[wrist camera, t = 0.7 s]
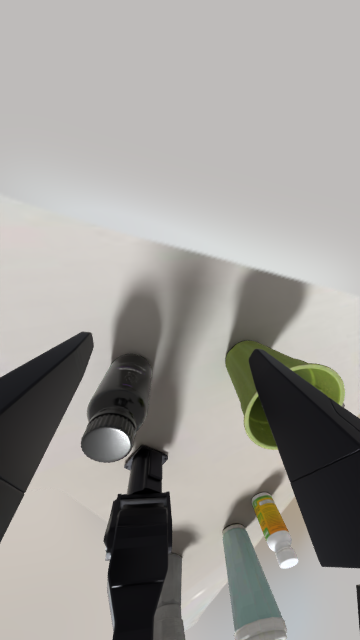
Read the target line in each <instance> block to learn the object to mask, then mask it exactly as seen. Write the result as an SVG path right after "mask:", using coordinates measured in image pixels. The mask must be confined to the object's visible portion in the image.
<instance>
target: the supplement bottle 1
mask: <svg viewBox="0 0 360 640" xmlns="http://www.w3.org/2000/svg"><path fill="white" fill-rule="evenodd" d="M151 380H152V368H151V366H150V364H149V362H148V361H147V360H146V359H145V358H143V357H142V356H139V355H136V354H126V355H122V356H120V357H118V358H117V359H116V360H115V361H114V362H113V363H112V364H111V366H110V368H109V369H108V371H107V373H106V375H105V376H104V378H103V380H102V381H101V383H100V385H99V387H98V388H97V390H96V392H95V394H94V395H93V397H92V399H91V401H90V403H89V405H88V408H87V418H88V421H89V423H88V425H87V429H86V431H85V433H84V435H83V437H82V441H81V448H82V451H83V452H84V454H85V455H86V456H87V457H89V458H90V459H93V460H95V461H98V462H104V463H106V462H108V463H110V462H115V461H119V460H120V459H123V458H124V457H126V456H127V455H128V454H129V452H130V451H131V449H132V447H133V443H134V437H135V435H136V431H137V430H138V429H139V428H140V427H141V426H142V425H143V423H144V422H145V420H146V417H147V412H148V405H149V397H150V388H151Z"/></svg>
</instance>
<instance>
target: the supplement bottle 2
mask: <svg viewBox="0 0 360 640" xmlns="http://www.w3.org/2000/svg"><path fill="white" fill-rule="evenodd" d="M252 505H253V508H254V511H255V513H256V516H257V518H258V521H259V524H260V526H261V529H262V531H263V534H264V536H265V539H266V542H267V544H268V546H269V548H270V549H271V550H273V551H275V553H276V558H277V560H278V563H279V565H280V567H281V568H290V567H292V566H294V565H296V564H297V563H298V558H297V555H296V553H295V551H294V550H293V548H292V547H291V546H290V545H291V541H292V539H291V536H290V534H289V531H288V529H287V528H286V525H285V523H284V521H283V519H282V517H281V515H280V513H279V511H278V509H277V507H276V505H275V503H274V501H273V499H272V497H271V495H270V494H269V493H266V492H263V493H259V494H257V495H255V496H254V497H253V499H252Z"/></svg>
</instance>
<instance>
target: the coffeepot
mask: <svg viewBox="0 0 360 640" xmlns="http://www.w3.org/2000/svg"><path fill="white" fill-rule="evenodd" d="M181 574H182V558H181V556H179V555H178V554H174V553H171V554H168V571H167V574H166V578H165V581H164V584H163V588H162V591H161V595H160V598H159V602H158V605H157V608H156V612H155V615H154V633H153V640H185V634H184V626H183V620H182V619H181V607H180V606H181Z"/></svg>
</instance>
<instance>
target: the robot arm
mask: <svg viewBox="0 0 360 640" xmlns="http://www.w3.org/2000/svg"><path fill="white" fill-rule="evenodd" d="M93 347H94V344H93V337H92V334H91V333H90V332H81V333H79V334H77V335H75V336H73V337H72V338H70V339H68V340H66V341H65V342H63V343H61V344H59V345H57V346H56V347H54V348H52V349H50V350H48V351H47V352H45V353H43V354H41V355H40V356H38V357H36V358H34V359H32V360H31V361H29V362H27V363H25V364H24V365H22V366H20V367H18V368H16V369H15V370H13V371H11V372H9V373H7V374H6V375H4V376H2V377H0V542H1V540H2V538H3V536H4V534H5V532H6V530H7V528H8V526H9V524H10V522H11V520H12V518H13V516H14V514H15V512H16V510H17V508H18V506H19V504H20V502H21V500H22V498H23V496H24V493H25V492H26V490H27V488H28V486H29V484H30V482H31V480H32V478H33V476H34V474H35V472H36V470H37V468H38V466H39V464H40V462H41V460H42V458H43V456H44V454H45V452H46V450H47V448H48V446H49V444H50V442H51V440H52V438H53V436H54V434H55V432H56V430H57V428H58V426H59V424H60V422H61V420H62V418H63V416H64V414H65V412H66V410H67V408H68V406H69V404H70V402H71V400H72V398H73V396H74V394H75V392H76V390H77V388H78V386H79V384H80V382H81V380H82V377H83V375H84V373H85V370H86V367H87V364H88V362H89V359H90V356H91V353H92V351H93ZM249 365H250V369H251V373H252V377H253V381H254V384H255V388H256V391H257V393H258V396H259V399H260V401H261V404H262V407H263V410H264V412H265V415H266V418H267V421H268V423H269V426H270V429H271V431H272V434H273V437H274V440H275V442H276V445H277V448H278V450H279V453H280V456H281V459H282V461H283V464H284V467H285V470H286V472H287V475H288V478H289V480H290V482H291V486H292V489H293V492H294V494H295V497H296V500H297V502H298V505H299V508H300V511H301V513H302V516H303V519H304V522H305V524H306V527H307V530H308V533H309V535H310V538H311V541H312V543H313V546H314V549H315V552H316V554H317V557H318V559H319V562H320V564H321V566H322V567H342V568H360V419H359V418H358V417H356V416H355V415H353V414H352V413H351V412H349V411H348V410H346V409H345V408H343V407H342V406H341V405H339V404H338V403H336V402H335V401H334V400H332V399H331V398H329V397H328V396H327V395H325V394H324V393H322V392H321V391H320V390H318V389H317V388H316V387H314V386H313V385H311V384H310V383H309V382H307V381H306V380H304V379H303V378H302V377H300V376H299V375H298V374H296V373H295V372H293V371H292V370H291V369H289V368H288V367H286V366H285V365H284V364H282V363H281V362H280V361H278V360H277V359H275V358H274V357H273V356H271V355H270V354H268V353H267V352H266V351H264V350H263V349H254V350H253V352H252V354H251V355H250V357H249ZM167 459H168V456H167V455H165V454H163V453H161V452H158V451H156V450H153V449H151V448H149V447H146V446H144V445H142V446H141V447H140V448H139V449H138V450H137V451H136V452H135V453H134V454H133V456H132V457H131V458H130V459H129V460H128V461H127V462H126V463H125V466H124V468H126V469H128V470H131V472H130V478H129V484H128V491H127V494H124V495H121V494H118V497H117V499H116V500H115V501H113V505H112V510H111V514H110V518H109V522H108V525H107V529H106V532H105V536H104V543H105V546H106V559H105V560H110V563H109V569H108V583H107V593H108V599H109V605H110V612H111V618H112V625H113V631H114V634H113V640H153V633H154V615H155V612H156V608H157V605H158V602H159V598H160V595H161V591H162V588H163V584H164V581H165V578H166V574H167V571H168V554H171V551H172V516H171V504H170V493H169V492H166V493H162V465H163V464H164V463H165V462H166V461H167ZM356 588H357V601H358V614H359V628H360V585H356Z"/></svg>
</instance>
